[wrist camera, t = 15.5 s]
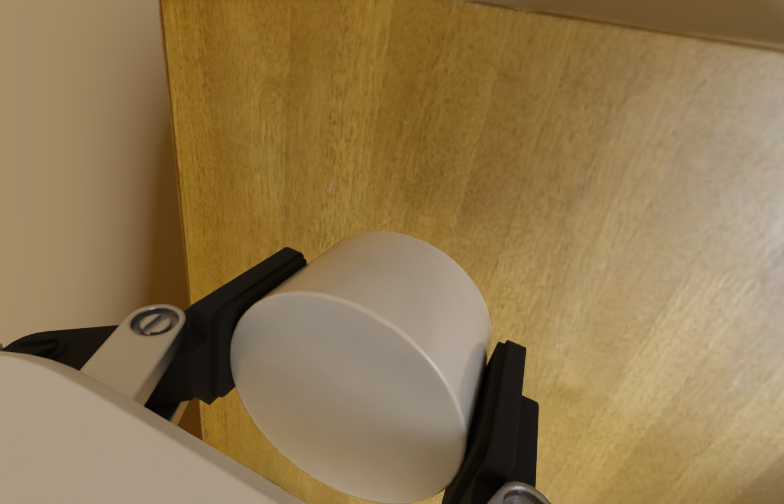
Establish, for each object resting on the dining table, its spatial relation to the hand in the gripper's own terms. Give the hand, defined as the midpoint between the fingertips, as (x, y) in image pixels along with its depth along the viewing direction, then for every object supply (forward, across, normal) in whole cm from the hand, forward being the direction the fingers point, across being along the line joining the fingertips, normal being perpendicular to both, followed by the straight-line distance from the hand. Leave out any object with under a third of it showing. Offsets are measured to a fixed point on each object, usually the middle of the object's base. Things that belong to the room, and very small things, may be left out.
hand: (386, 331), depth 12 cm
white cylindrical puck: (+1, 0, 0) cm, 1 cm away
